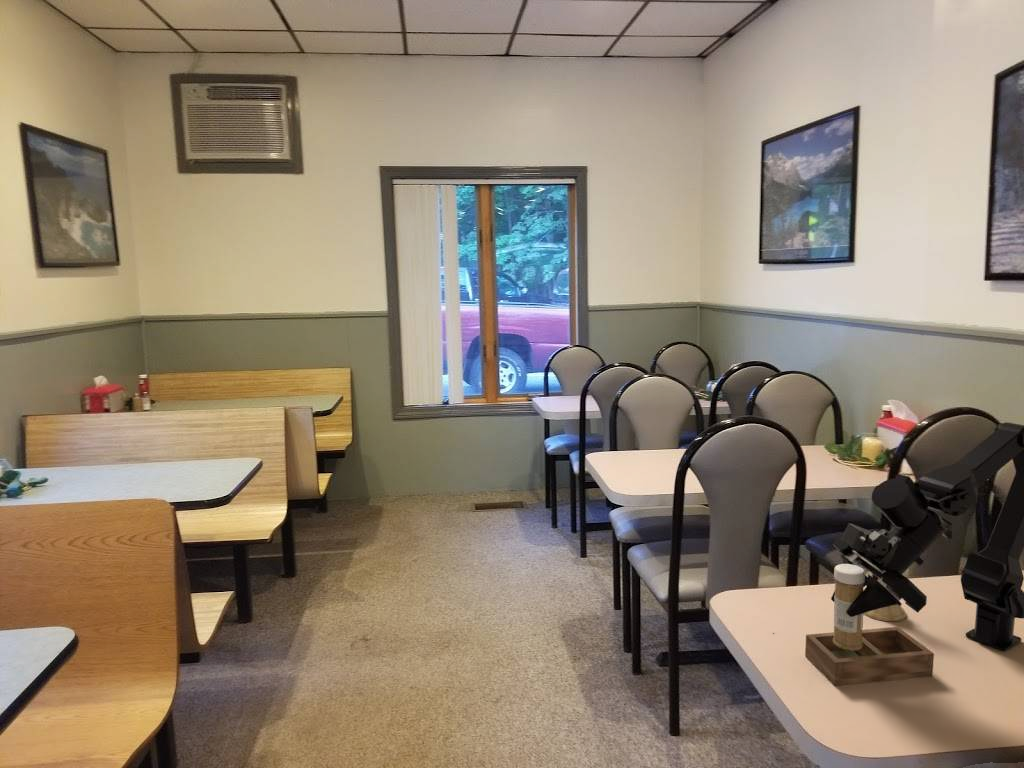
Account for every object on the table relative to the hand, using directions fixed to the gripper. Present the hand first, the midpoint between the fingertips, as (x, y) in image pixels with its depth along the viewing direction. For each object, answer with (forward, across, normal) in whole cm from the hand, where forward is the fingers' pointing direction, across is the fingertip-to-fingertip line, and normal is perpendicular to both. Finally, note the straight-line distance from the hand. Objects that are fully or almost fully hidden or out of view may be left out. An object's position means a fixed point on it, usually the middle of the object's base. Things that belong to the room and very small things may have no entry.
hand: (840, 607), depth 118 cm
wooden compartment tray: (+4, 0, +11) cm, 12 cm away
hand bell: (-5, -18, +21) cm, 28 cm away
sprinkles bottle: (+4, 0, +6) cm, 7 cm away
